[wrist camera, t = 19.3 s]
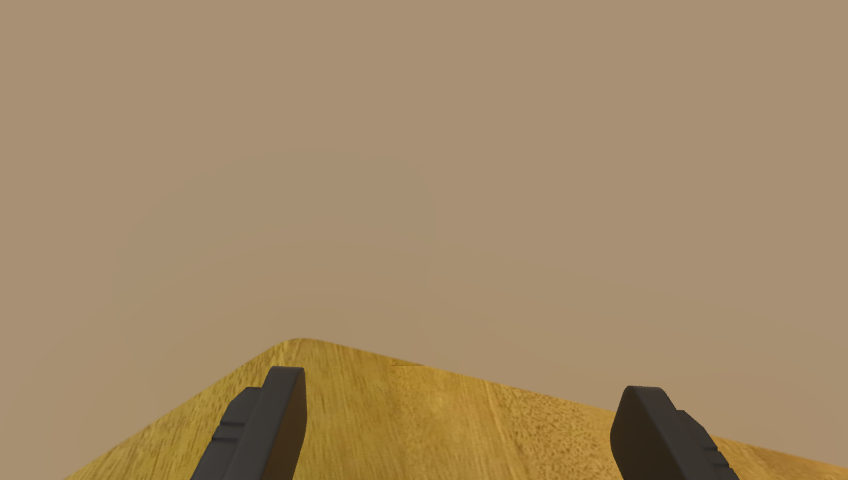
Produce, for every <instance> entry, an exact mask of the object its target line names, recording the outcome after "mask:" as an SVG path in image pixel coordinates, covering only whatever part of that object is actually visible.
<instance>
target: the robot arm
mask: <svg viewBox="0 0 848 480" xmlns="http://www.w3.org/2000/svg"><path fill="white" fill-rule="evenodd" d="M306 424H307V402H306V385H305V371H304V368H302V367H283V366H272V367H271V369H270V370H269V372H268V375H267V377H266V379H265V381H264V384H263V386H262V388H259V387H246V388H245V389H244V390H243V391H242V392H241V393H240V394H239V395H238V396H237V397H235V398H234V399H233V400H232V401H231V402H230V403H229V405H228V407H227V409H226V411H225V413H224V415H223V417H222V419H221V421H220V425H219V426H218V427H217V429H216V431H215V432H214V434H213V436H212V441H211V442H209V444H208V446H207V448H206V450H205V452H204V454H203V456H202V458H201V460H200V462H199V464H198V466H197V467H196V469H195V471H194V473H193V475H192V477H191V479H190V480H292V479H293V475H294V472H295V468H296V465H297V461H298V458H299V454H300V451H301V448H302V444H303V441H304V437H305V431H306ZM610 444H611V450H612V453H613V456H614V459H615V461H616V463H617V466H618V468H619V470H620V472H621V475H622V477H623V479H624V480H740V479H739V478H738V476H737V475H736V473H735V472H734V470H733V469H732V468H729V463H728V462H727V460H726V459H725V457H724V456H723V455H722V453H721V452H720V451H718V450H717V448H718V447H717V446H716V445H715V443H714V442H713V440H712V439H711V437H710V436H709V434H708V433H707V432H706V430H705V429H704V427H702V426H701V425H700V424H699V423H698V422H696V421H695V420H694V419H693V418H692V417H691V416H690V415H688V414H687V413H686V412H685V411H684V410H676V408H675V407H674V405H673V403H672V402H671V400H670V399H669V397H668V396H667V394H666V393H665V392H664V391H663V390H662V389H661V388H659V387H642V386H627V387H626V388H625V390H624V392H623V395H622V398H621V401H620V404H619V407H618V410H617V413H616V416H615V419H614V422H613V425H612V428H611V433H610Z"/></svg>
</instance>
